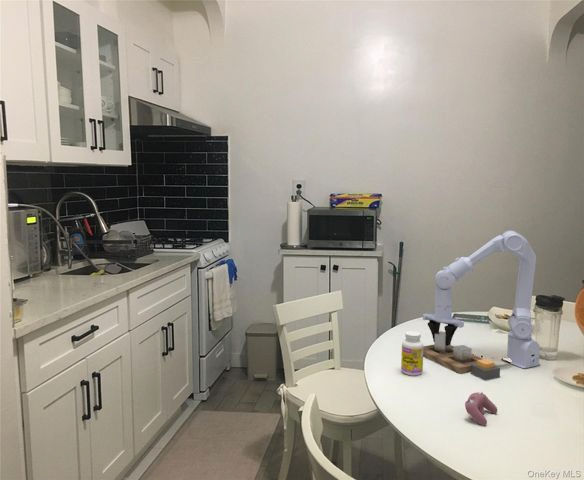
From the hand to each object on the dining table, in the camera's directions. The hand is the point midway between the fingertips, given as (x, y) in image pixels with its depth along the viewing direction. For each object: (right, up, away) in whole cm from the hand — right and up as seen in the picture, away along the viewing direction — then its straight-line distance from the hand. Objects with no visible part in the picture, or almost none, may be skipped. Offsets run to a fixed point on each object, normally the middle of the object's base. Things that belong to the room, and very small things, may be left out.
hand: (442, 343), depth 177 cm
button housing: (+8, -6, -17) cm, 20 cm away
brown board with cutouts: (+2, -5, -4) cm, 7 cm away
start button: (+8, -5, -18) cm, 20 cm away
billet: (+4, -5, -8) cm, 11 cm away
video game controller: (-3, -10, -45) cm, 46 cm away
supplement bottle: (-14, -6, -14) cm, 21 cm away
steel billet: (0, -3, +1) cm, 3 cm away
